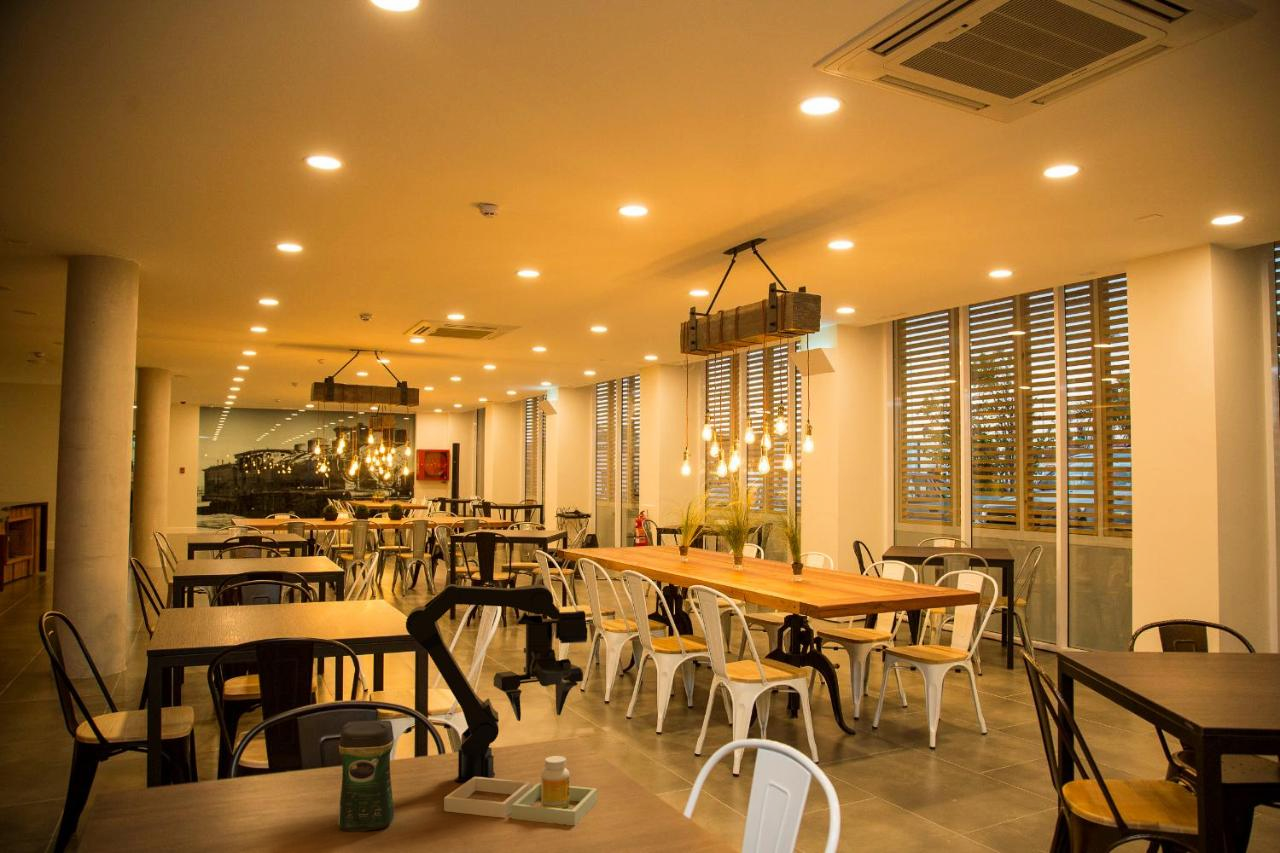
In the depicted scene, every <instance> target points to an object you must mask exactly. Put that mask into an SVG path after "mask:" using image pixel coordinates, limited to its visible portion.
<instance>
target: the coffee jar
mask: <svg viewBox="0 0 1280 853" xmlns="http://www.w3.org/2000/svg"><path fill="white" fill-rule="evenodd" d="M394 742H395V737H394V730H393V724H392V721H391V720H361V721H359V720H358V721H348V722H346V723H345V724H344V725H343V726H342V728H341V732H340V738H339V744H338V750H339V754H340V757H341V761H342V773H341V774H342V776H341V777H342V778H341V789H340V799H339V806H338V822H337V823H338V827H339V828H340V829H342V830H343V831H352V830H353V831H354V830H358V831H371V830H372V829H373V830H379V829H382V828H385V827H387V826H388V825H390V824H391V822H392V821H393V819H394V815H395V814H394V811H395V809H394V799H393V790H392V780H391V779H392V778H391V752H392V749H393V746H394ZM373 830H372V831H373ZM354 832H355V831H354Z"/></svg>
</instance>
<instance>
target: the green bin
mask: <svg viewBox="0 0 1280 853" xmlns="http://www.w3.org/2000/svg"><path fill="white" fill-rule="evenodd" d="M540 798H541V782H537V783H536V784H535V785H534V786H531V789H530V790H529V791H528V792H526V793H525V794H524V795H523V796H522V797H520V798H519V799H518V800H517V801H516V802H515V803H513V804H512V812H511V819H512V820H519V821H521V820H522V821H527V822H528V821H529V822H530V821H531V822H536V823H537V822H538V823H547V824H555V823H558V825H564V824H566V826H567V825H568V826H573V825H575V826H577V825H578V823H579V822H580V821H581V820H582V819H583V818H584V816H586V814H587V813H588V812H589V811H590V810H591V809H592V808H593V807H594V806H595V805H596V804H597V803H598V788H596V787H595V788H593V787H586V786H585V787H584V786H576V785H574V786H573V785H569V801H571V802H578V804H576V806H575V807H574V808H573V809H570V808H569V809H561V808H552V807H542V806H541V805H540V806H539V805H533V804H534V803H536V802H537V801H538V800H539V799H540Z"/></svg>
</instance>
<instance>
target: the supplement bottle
mask: <svg viewBox="0 0 1280 853" xmlns="http://www.w3.org/2000/svg"><path fill="white" fill-rule="evenodd" d="M566 766H567V758H566V757H565V756H563V755H562V756H561V755H554V756H547V757H546V758H545V759H544V767H545V769H543V770H542V772H541V777H540V778H541V781H540V783H541V797H540V798H541V800H540V801H541V802H540V803H541V805H540V806H542V807H552V808H561V809H570V800H569V786H570V771H569V769H567V767H566Z"/></svg>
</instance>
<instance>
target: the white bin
mask: <svg viewBox="0 0 1280 853" xmlns="http://www.w3.org/2000/svg"><path fill="white" fill-rule="evenodd" d="M531 788H532V782H531V781H525V780H524V781H523V780H513V779H503V778H495V777H494V778H493V777H491V778H484V777H473V778H471V779H470V780H469V781H467V782H466V783H464V782H463V784H462V785H460V786H459V787H458V788H455V790H453V791H452V792H450V793H449V794H446V796H445V797H444V798H443V811H444V812H450V813H457V814H458V813H459V814H467V815H468V814H469V815H474V816H475V815H476V816H484V817H485V816H486V817H493V818H494V817H495V818H503V819H505V818H507V817H508V816H509V815H510V814H512V804H513V803H515V802H516V801H517V800H518V799H519V798H520V797H522V796H523V795H524V794H525V793H526V792H528V791H529V790H530V789H531ZM475 792H485V793H496V794H505V795H510V796H509V797H507V798H506V799H505V800H503V801H494V800H484V799H475V798H468V797H469V796H471V795H472V794H473V793H475Z"/></svg>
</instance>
